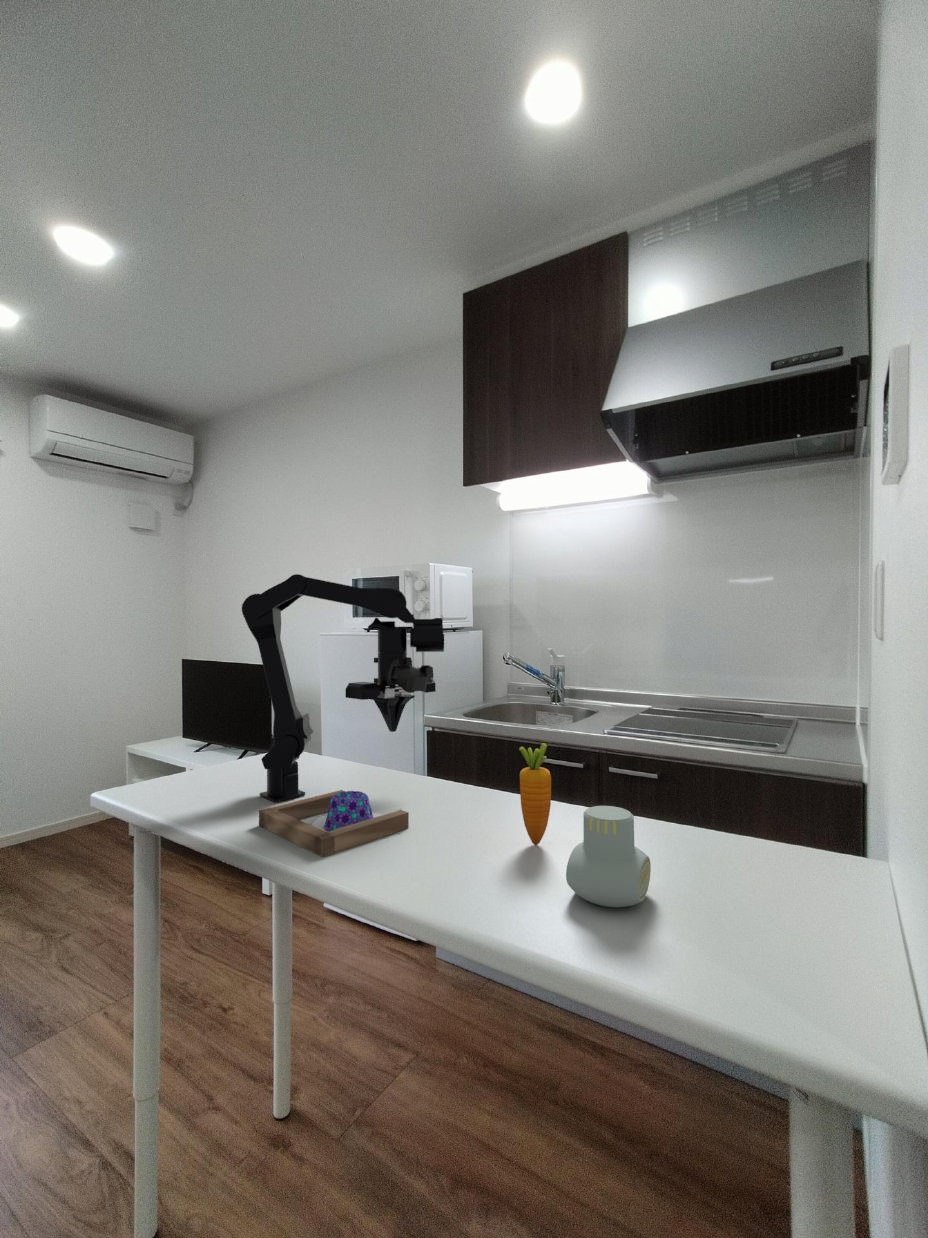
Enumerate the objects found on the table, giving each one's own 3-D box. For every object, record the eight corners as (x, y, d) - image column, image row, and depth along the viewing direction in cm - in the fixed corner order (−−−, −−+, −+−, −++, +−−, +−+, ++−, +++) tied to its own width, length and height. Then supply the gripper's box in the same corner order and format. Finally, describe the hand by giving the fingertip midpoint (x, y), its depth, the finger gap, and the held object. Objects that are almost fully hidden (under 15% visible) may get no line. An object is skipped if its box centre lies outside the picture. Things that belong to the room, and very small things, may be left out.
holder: (258, 825, 93) (258, 810, 93) (341, 803, 104) (341, 790, 104) (322, 857, 80) (322, 839, 80) (408, 827, 91) (408, 812, 91)
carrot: (513, 848, 83) (513, 745, 83) (526, 837, 87) (525, 739, 87) (546, 854, 80) (545, 748, 81) (557, 842, 85) (556, 742, 85)
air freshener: (634, 926, 61) (633, 832, 61) (560, 908, 65) (560, 820, 65) (653, 886, 70) (652, 805, 70) (588, 872, 74) (587, 796, 75)
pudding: (298, 838, 88) (298, 804, 88) (331, 813, 100) (331, 783, 100) (370, 843, 86) (370, 808, 86) (395, 817, 97) (395, 787, 98)
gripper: (380, 655, 100) (380, 744, 99) (454, 651, 113) (454, 730, 113) (343, 653, 107) (343, 736, 107) (417, 650, 121) (417, 723, 120)
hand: (392, 731), depth 112 cm, fingers closed
